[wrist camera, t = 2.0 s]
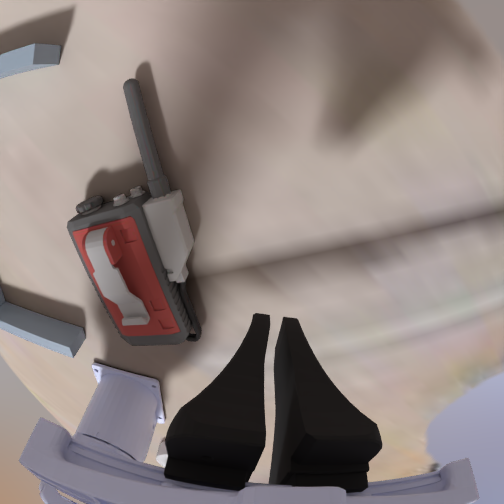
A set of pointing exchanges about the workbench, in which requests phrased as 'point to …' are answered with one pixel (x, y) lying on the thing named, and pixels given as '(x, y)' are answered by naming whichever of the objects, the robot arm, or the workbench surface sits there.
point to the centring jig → (3, 313)
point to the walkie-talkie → (140, 249)
